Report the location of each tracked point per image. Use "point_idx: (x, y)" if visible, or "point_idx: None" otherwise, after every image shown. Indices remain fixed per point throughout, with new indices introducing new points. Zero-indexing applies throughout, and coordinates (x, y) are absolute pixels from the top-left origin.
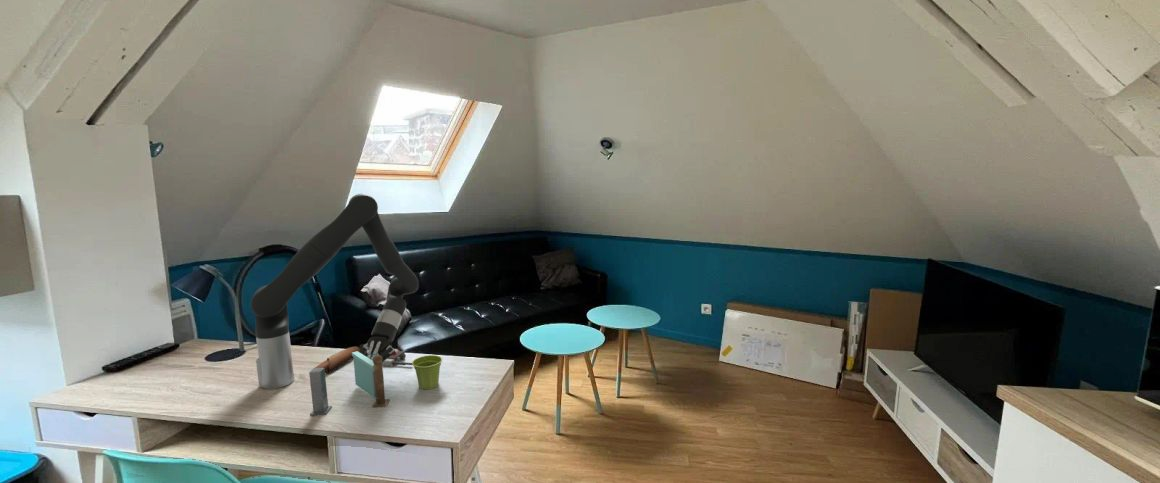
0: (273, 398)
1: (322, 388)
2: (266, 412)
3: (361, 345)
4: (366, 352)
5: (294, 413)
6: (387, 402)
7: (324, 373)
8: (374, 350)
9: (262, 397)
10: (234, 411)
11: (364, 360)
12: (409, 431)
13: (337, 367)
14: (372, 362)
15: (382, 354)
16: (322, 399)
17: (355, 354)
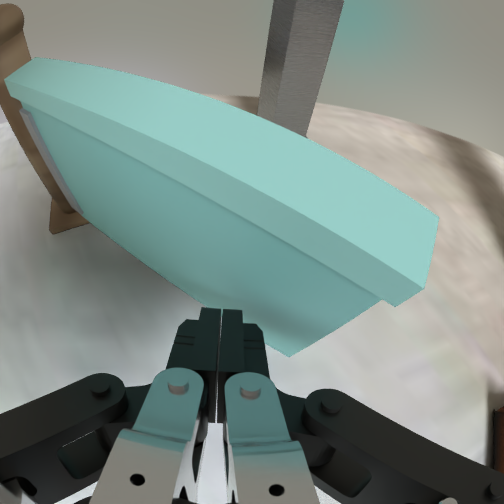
0: (478, 208)
1: (268, 52)
2: (419, 143)
3: (495, 494)
4: (372, 500)
5: (350, 133)
6: (51, 204)
7: (290, 15)
8: (171, 489)
9: (497, 212)
10: (472, 154)
11: (105, 71)
12: (5, 127)
13: (495, 455)
14: (36, 76)
15: (36, 421)
16: (262, 86)
17: (335, 160)
